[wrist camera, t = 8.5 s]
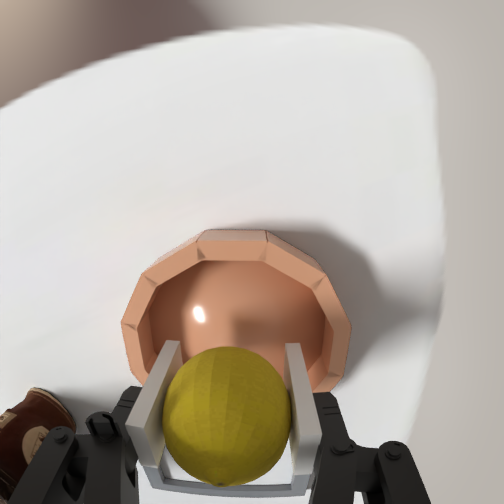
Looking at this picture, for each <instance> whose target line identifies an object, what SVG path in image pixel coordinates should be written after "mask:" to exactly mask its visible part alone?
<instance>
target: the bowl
mask: <svg viewBox="0 0 504 504" xmlns="http://www.w3.org/2000/svg"><path fill="white" fill-rule="evenodd" d="M121 328H122V333H123V338H124V343H125V348H126V353H127V357H128V362H129V366H130V370H131V372H132V374H133V375H134V376H135V377H136V378H137V380H138V381H139V382H140V383H141V384H142V385H143V386H144V384H145V382H146V380H147V378H148V376H149V374H150V372H151V369H152V367H153V365H154V363H155V361H156V359H157V357H158V355H159V354H160V352H161V350H162V348H163V346H164V344H165V342H166V340H173V341H180V346H181V355H182V362H183V365H184V364H185V363H186V362H187V361H188V360H190V359H191V358H192V357H193V356H195V355H197V354H199V353H201V352H203V351H205V350H207V349H211V348H216V347H221V346H234V347H239V348H244V349H247V350H250V351H252V352H254V353H257V354H259V355H260V356H261V357H263V358H264V359H266V360H267V361H268V362H269V363H271V364H272V366H273V367H274V368H275V369H276V371H277V372H278V373H279V374H280V376H281V377H282V380H283V371H284V357H285V343H300V346H301V350H302V354H303V358H304V362H305V366H306V370H307V374H308V378H309V382H310V386H311V390H312V393H317V392H330V391H331V390H332V389H333V388H334V386H335V385H336V384H337V383H338V382H339V381H340V379H341V378H342V377H343V374H344V369H345V364H346V358H347V353H348V347H349V341H350V335H351V328H352V327H351V324H350V322H349V320H348V318H347V315H346V313H345V311H344V309H343V307H342V305H341V303H340V301H339V299H338V297H337V295H336V293H335V291H334V289H333V287H332V285H331V283H330V281H329V279H328V277H327V275H326V274H325V272H324V271H323V270H322V268H321V267H320V265H319V264H318V263H317V261H316V260H315V259H314V258H312V257H310V256H309V255H307V254H305V253H304V252H302V251H300V250H299V249H297V248H295V247H294V246H292V245H290V244H288V243H287V242H285V241H283V240H282V239H280V238H278V237H277V236H275V235H273V234H271V233H270V232H268V231H266V232H265V230H206V231H203V232H201V233H200V234H198V235H196V236H195V237H193V238H191V239H190V240H188V241H186V242H185V243H183V244H181V245H180V246H178V247H176V248H175V249H173V250H171V251H170V252H168V253H166V254H165V255H163V256H161V257H160V258H158V259H157V260H156V261H155V262H154V263H153V264H152V265H151V266H150V267H148V268H147V269H146V270H145V271H144V272H143V273H142V274H141V276H140V278H139V281H138V283H137V285H136V287H135V290H134V292H133V294H132V297H131V299H130V301H129V304H128V306H127V308H126V311H125V313H124V315H123V318H122V320H121Z"/></svg>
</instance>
